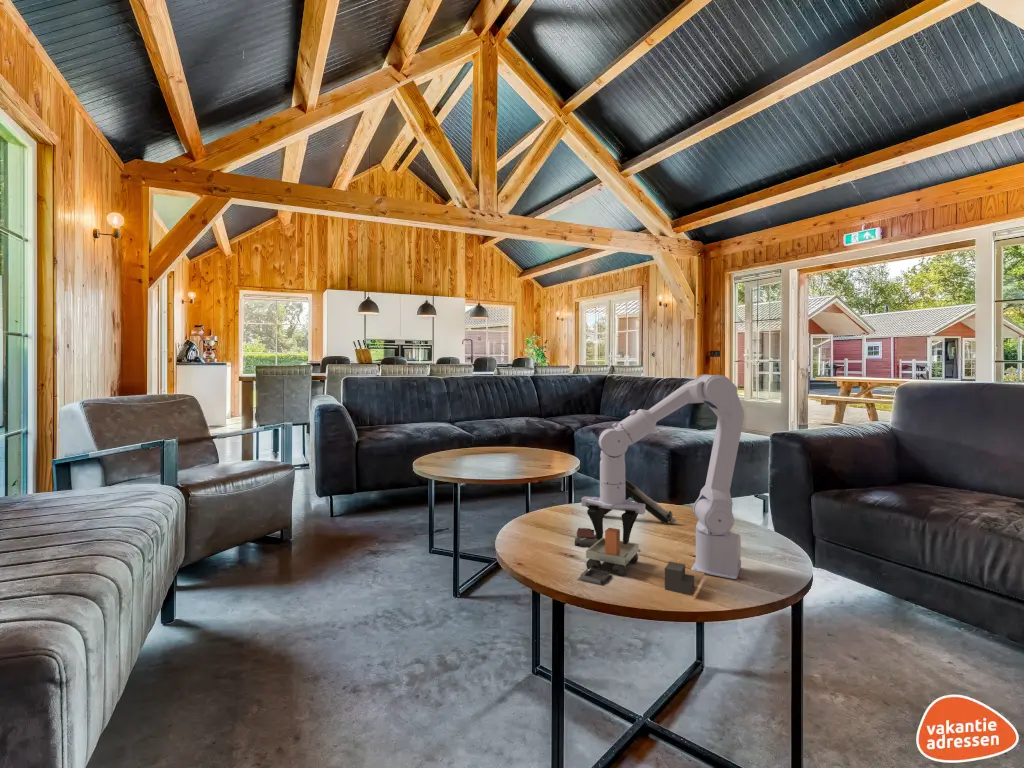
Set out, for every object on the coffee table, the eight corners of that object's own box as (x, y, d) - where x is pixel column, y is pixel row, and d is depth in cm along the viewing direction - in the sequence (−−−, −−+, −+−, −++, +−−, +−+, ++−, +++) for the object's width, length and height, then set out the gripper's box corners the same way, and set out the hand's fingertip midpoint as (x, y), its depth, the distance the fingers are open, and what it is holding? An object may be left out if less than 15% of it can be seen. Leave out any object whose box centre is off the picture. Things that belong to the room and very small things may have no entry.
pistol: (632, 539, 139) (635, 554, 127) (576, 535, 142) (574, 550, 130) (632, 529, 139) (635, 544, 127) (576, 526, 142) (574, 540, 130)
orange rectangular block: (619, 550, 118) (619, 529, 118) (616, 554, 116) (616, 532, 116) (609, 548, 119) (609, 527, 119) (605, 552, 117) (605, 530, 117)
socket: (613, 577, 112) (613, 571, 112) (603, 588, 107) (603, 581, 107) (587, 572, 115) (587, 566, 115) (576, 582, 110) (576, 576, 110)
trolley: (638, 563, 120) (638, 543, 120) (625, 579, 111) (624, 557, 111) (601, 556, 124) (601, 537, 124) (586, 571, 116) (586, 550, 116)
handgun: (647, 556, 151) (678, 519, 148) (585, 506, 158) (613, 468, 154) (648, 553, 154) (679, 516, 150) (587, 503, 161) (615, 467, 157)
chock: (694, 590, 106) (694, 566, 106) (690, 597, 102) (690, 573, 102) (669, 585, 108) (669, 561, 108) (664, 592, 105) (664, 568, 105)
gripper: (576, 481, 117) (576, 540, 118) (638, 489, 110) (638, 551, 110) (587, 476, 123) (588, 532, 124) (648, 482, 116) (647, 541, 116)
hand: (612, 540), depth 118 cm, fingers open, 6 cm apart
